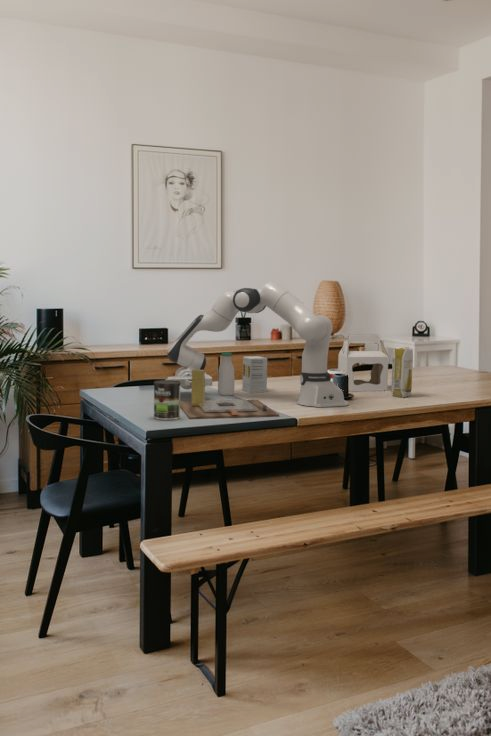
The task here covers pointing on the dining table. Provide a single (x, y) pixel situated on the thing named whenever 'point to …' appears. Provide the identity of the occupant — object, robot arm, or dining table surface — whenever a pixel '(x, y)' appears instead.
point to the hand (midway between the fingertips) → (192, 383)
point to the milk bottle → (226, 375)
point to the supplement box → (254, 374)
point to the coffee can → (167, 399)
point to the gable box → (368, 357)
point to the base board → (197, 413)
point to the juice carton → (402, 372)
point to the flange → (215, 405)
